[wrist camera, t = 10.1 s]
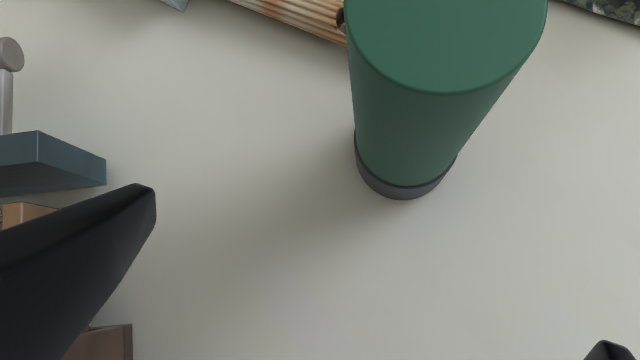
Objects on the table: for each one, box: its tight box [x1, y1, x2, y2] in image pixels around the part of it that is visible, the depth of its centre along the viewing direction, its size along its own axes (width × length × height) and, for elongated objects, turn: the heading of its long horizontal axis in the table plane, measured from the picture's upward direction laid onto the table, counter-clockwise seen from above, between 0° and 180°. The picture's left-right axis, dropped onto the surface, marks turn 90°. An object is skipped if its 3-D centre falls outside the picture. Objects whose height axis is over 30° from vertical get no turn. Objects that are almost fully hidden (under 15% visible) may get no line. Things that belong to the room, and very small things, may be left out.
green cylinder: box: [343, 0, 548, 200], centre depth 16 cm, size 4×4×13 cm
